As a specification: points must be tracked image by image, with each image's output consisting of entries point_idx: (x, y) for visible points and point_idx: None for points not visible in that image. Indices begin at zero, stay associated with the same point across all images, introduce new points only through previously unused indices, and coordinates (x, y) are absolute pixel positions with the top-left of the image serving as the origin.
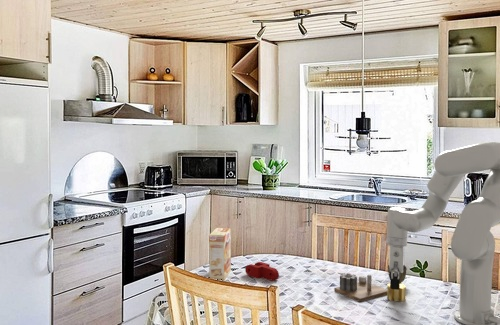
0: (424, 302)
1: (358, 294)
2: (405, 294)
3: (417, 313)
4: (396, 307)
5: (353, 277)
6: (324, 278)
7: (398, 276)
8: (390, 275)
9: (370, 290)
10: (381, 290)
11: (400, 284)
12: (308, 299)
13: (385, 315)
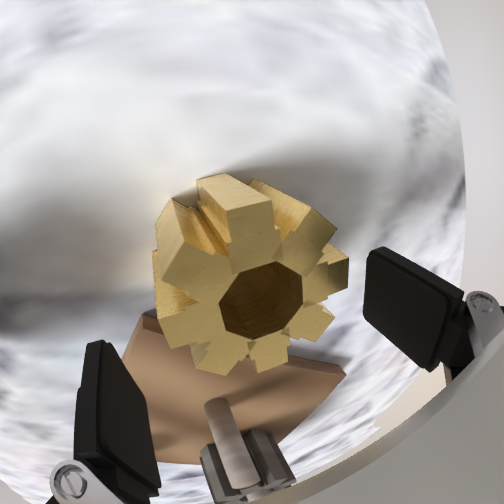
0: (220, 28)
1: (297, 403)
2: (239, 182)
3: (411, 93)
4: (374, 205)
5: (269, 485)
6: None
7: (499, 314)
8: (151, 437)
9: (223, 400)
10: (176, 366)
11: (202, 280)
12: (341, 438)
13: (442, 231)
